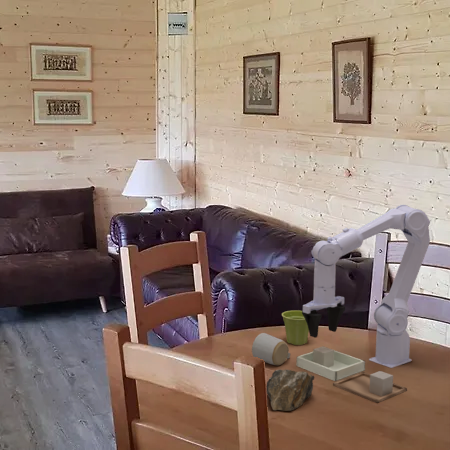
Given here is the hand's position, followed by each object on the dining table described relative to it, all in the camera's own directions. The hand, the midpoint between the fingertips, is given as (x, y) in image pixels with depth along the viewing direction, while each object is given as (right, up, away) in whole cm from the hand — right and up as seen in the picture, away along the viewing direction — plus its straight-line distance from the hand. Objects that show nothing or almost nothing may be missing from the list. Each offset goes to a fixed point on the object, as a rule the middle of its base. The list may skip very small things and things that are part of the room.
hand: (323, 333), depth 193 cm
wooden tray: (+10, -12, -14) cm, 21 cm away
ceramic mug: (-13, -9, +6) cm, 17 cm away
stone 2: (+12, -12, -17) cm, 24 cm away
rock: (-12, -13, -21) cm, 27 cm away
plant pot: (-5, -6, +21) cm, 23 cm away
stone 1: (0, -9, +1) cm, 9 cm away
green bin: (+2, -10, -1) cm, 10 cm away
